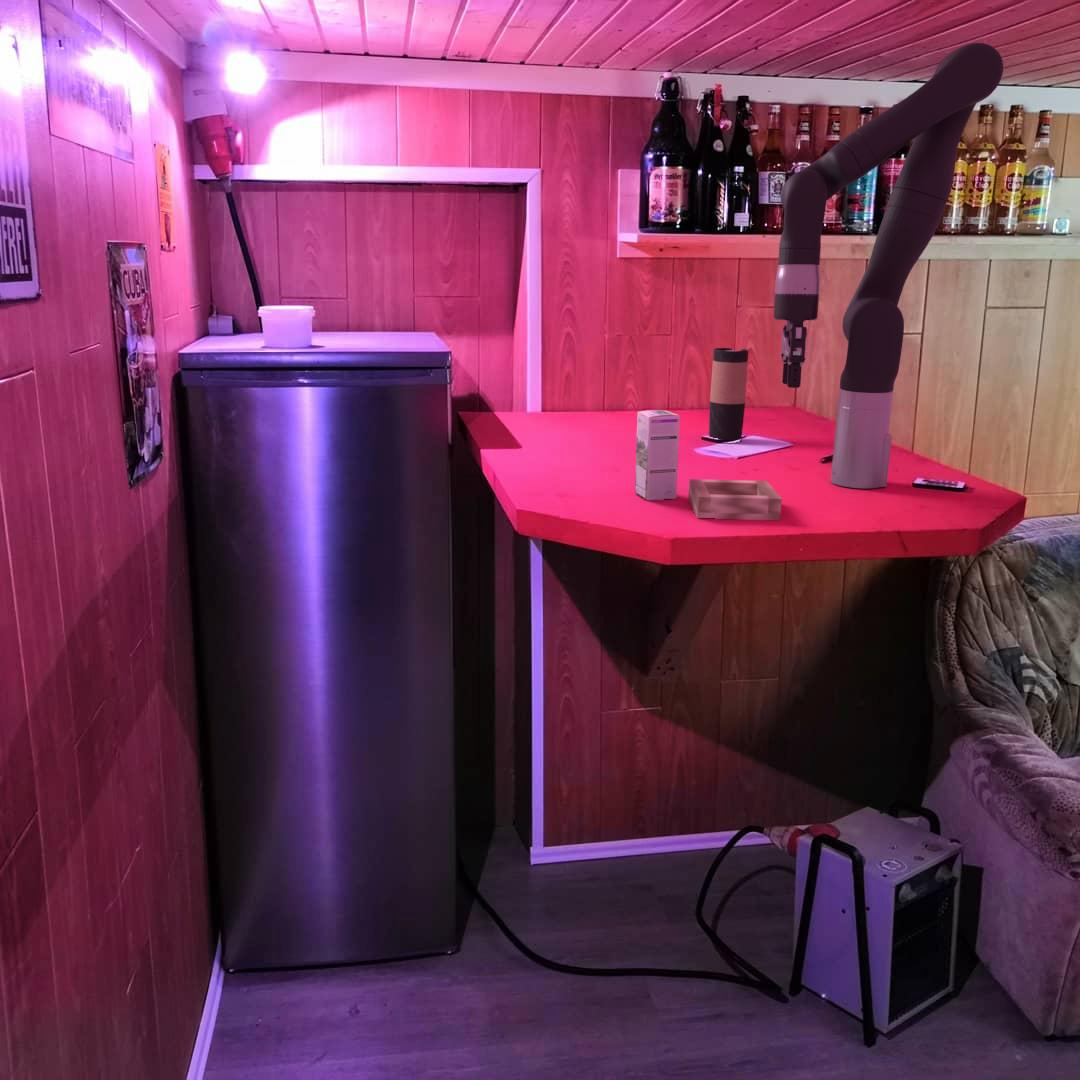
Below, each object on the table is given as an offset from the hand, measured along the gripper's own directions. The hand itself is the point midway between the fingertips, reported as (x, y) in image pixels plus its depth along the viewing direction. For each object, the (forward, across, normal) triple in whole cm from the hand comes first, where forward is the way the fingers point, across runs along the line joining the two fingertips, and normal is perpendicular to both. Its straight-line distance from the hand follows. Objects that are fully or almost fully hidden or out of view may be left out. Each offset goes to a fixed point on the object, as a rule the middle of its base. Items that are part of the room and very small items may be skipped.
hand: (790, 385), depth 187 cm
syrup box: (+18, -14, +23) cm, 33 cm away
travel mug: (+16, +44, +9) cm, 47 cm away
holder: (+19, -21, +10) cm, 30 cm away
